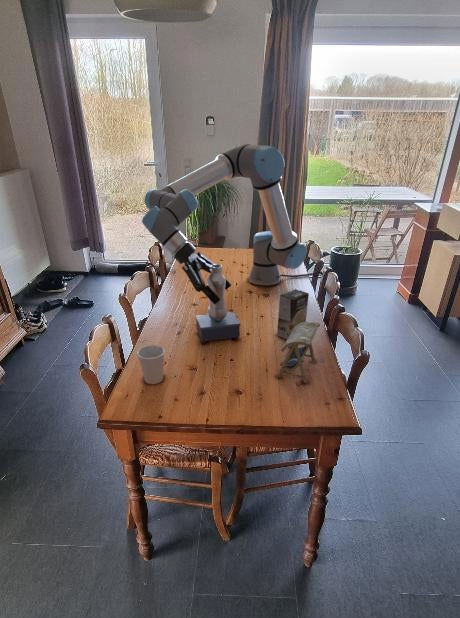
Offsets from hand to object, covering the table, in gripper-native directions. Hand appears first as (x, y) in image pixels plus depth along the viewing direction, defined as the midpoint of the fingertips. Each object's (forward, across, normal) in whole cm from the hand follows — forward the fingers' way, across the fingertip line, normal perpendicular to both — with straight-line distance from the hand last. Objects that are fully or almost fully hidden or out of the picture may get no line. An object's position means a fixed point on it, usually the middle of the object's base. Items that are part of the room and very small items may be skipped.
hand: (223, 294), depth 151 cm
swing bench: (+33, +15, +9) cm, 37 cm away
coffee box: (+29, -9, +5) cm, 30 cm away
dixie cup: (+3, +33, -22) cm, 39 cm away
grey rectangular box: (+10, 0, -14) cm, 17 cm away
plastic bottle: (+5, 0, -9) cm, 10 cm away
